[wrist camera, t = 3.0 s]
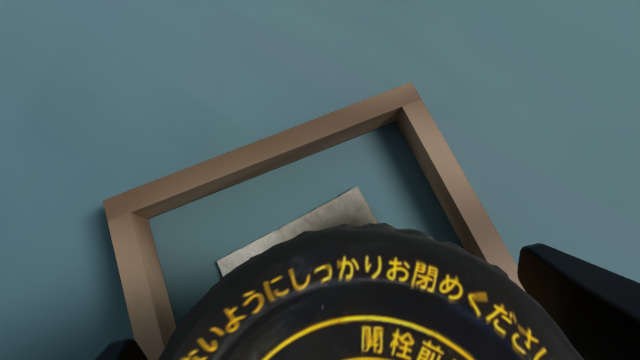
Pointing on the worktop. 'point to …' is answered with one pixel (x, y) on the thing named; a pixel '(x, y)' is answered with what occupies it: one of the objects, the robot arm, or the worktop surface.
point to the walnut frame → (268, 154)
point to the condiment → (363, 299)
